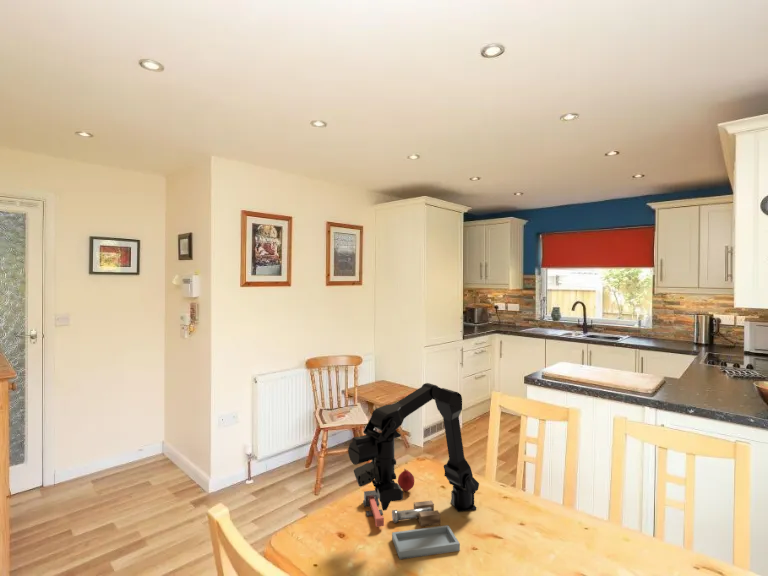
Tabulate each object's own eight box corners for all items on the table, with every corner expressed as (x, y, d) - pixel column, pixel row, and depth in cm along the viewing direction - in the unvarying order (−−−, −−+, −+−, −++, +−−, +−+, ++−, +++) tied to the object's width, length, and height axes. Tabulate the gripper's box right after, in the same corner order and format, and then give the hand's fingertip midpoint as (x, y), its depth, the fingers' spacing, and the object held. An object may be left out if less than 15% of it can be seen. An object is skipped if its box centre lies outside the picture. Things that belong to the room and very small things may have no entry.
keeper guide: (377, 500, 136) (377, 490, 136) (382, 514, 128) (382, 503, 128) (363, 502, 135) (363, 491, 135) (367, 516, 127) (367, 505, 127)
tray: (448, 531, 119) (448, 525, 119) (459, 550, 110) (459, 543, 110) (392, 539, 115) (392, 532, 115) (399, 559, 107) (399, 552, 107)
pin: (429, 513, 128) (429, 503, 128) (432, 520, 125) (432, 509, 125) (392, 518, 126) (391, 507, 125) (394, 525, 122) (394, 514, 122)
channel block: (431, 509, 131) (431, 500, 131) (440, 524, 123) (440, 514, 123) (413, 511, 129) (413, 502, 129) (421, 526, 122) (421, 516, 122)
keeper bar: (373, 498, 136) (373, 491, 136) (383, 525, 120) (383, 517, 120) (366, 498, 135) (366, 491, 135) (375, 526, 120) (375, 518, 120)
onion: (414, 487, 145) (414, 465, 145) (414, 495, 139) (414, 472, 139) (398, 486, 145) (398, 464, 145) (397, 495, 140) (397, 472, 140)
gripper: (351, 444, 121) (351, 495, 121) (361, 472, 103) (361, 533, 103) (387, 441, 124) (387, 491, 124) (403, 468, 105) (403, 527, 106)
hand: (384, 509), depth 114 cm, fingers closed
